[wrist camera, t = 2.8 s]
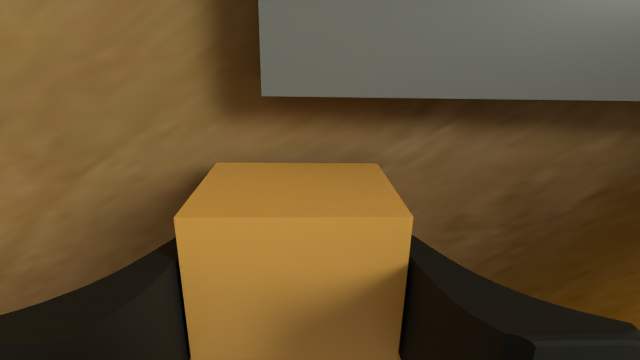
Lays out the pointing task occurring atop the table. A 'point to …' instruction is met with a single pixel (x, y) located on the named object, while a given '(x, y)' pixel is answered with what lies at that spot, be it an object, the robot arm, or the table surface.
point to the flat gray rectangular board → (451, 49)
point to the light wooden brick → (294, 262)
